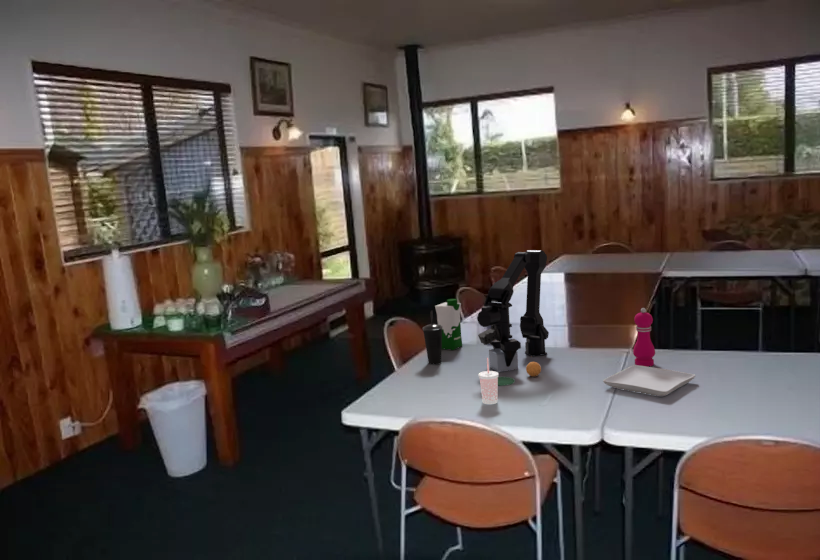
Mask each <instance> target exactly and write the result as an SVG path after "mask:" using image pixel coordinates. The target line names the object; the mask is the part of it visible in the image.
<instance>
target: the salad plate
mask: <svg viewBox="0 0 820 560" xmlns="http://www.w3.org/2000/svg"><path fill="white" fill-rule="evenodd" d="M695 377H696V374H694V373H689V372H683V371H678V370H673V369H665V368H659V367H652V366H650V367H646V366H639V365H635V364H633V365H630V366H629V367H626V368H625V369H623V370H620V371H618V372H617V373H614V374H612V375H610V376H608V377H606V378H604V379H603V380H602V381H603V383H604V384H605V385H606V386H608V387H611V388H614V389H618V390H621V389H624V390H623V391H626V390H629V391H628V392H631V391H635V392H634V393H636V392H641V393H646V394H645V395H647V394H651V395H650V396H653V395H656V396H655V397H665V396H667V395H668V394H671V393H673V392H674V391H675V390H677V389H679V388H681V387H683V386H685V385H687V384H688V383H690V382H692V381H693V380H694V379H695ZM641 393H640V394H641Z"/></svg>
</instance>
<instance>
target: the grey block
mask: <svg viewBox="0 0 820 560" xmlns="http://www.w3.org/2000/svg"><path fill="white" fill-rule="evenodd" d="M500 349H501V348H498V349H493V348H492V349H488V361H489V368H491V369H493V370H494V371H495V372H498V373H502V372H507V371H508V370H509V371H514V369H515V370H519V359H518V357H519V355H518V351H517V352H516V354H515V355H514V358H513V360H512V362H511V365H510V366H509V367H507V366H506V361H505V356H504V352H503V351H501V350H500Z"/></svg>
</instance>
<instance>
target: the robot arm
mask: <svg viewBox="0 0 820 560" xmlns="http://www.w3.org/2000/svg"><path fill="white" fill-rule="evenodd" d="M547 261H548V255H547V254H546V252H545V250H541V249H540V250H536V249H527V250H526V251H523V252H522V251H518V252H515V253H514V256H513V259H512V260H511V263H510V264H509V266H508V267H507V268H506V271H505V272H504V274H503V275H502V276H501V278H500V279H499V280H497V281H496V282H494V283H493V285H492V286H491V287H490V288H489V290H488V293H487V296H486V298H485V301H484V305H483V307H481V308H480V309H481V311H479V312H478V314H477V316H476V319H477V322H478V324H479V325H480V326H481V327H483V328H486V327H490V328H488V329H486V330H484V331H482V332H480V333H479V334H477V337H478V338H479V341H480V343H481V344H483V345H484V346H486V345H489V344H490V346H491V347H492V349H498V348H501V349H500V350H501V351H503V352H504V356H505V361H506V366H507V367H509V366H510V365H511V362H512V360H513V358H514V355H515V354H516V352H517V353H518V350H520V349H522V343H521V341H519V340H517V339H515V338H513V335H512V334H511V328H513V323H511V322H510V321H511V320H510V308H511V307H513V303H511V302H510V301H511V299H512V297H513V294H514V291H515V290H514V285H515V284H516V283H517V280H518V279H519V277H520V276H521V274H522V272H523V270H525V271H526V273H527V279H526V280H527V283H526V304H525V313H524V314H523V315H521V316H520V319H519V320H520V324H519V329H520V333H521V337H522V338H523V339H526V341H525V343H524V344H525V345H524V346H525V351H524V353H525V354H527V355H528V356H530V357H537V356H544V355H548V352H547V351H546V340H547V339H548V338H549V333H550V332H549V331H548V330H547V328H546V327H545V325H544V319H543V317H542V314H541V313H540V309H541V308H540V307H541V306H540V305H541V282H542V274H543V272H544V270H545V269H546V265H547Z"/></svg>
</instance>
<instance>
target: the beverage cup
mask: <svg viewBox="0 0 820 560" xmlns="http://www.w3.org/2000/svg"><path fill="white" fill-rule="evenodd" d="M486 365H487V368H486V369H487V370H483V371H481V372H479V373H478V375H477V376H478V378H479V382H480V383H479V384H480V391H481V392H480V393H481V401H482V404H484V405H495V404H497V403H498V402H499V401H498V399H499V397H498V393H499V392H498V391H499V390H498V389H499V388H498V387H499V386H498V377H499V372H497V371H496V370H494V371H493V370H490V362H489V357H486Z"/></svg>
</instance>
